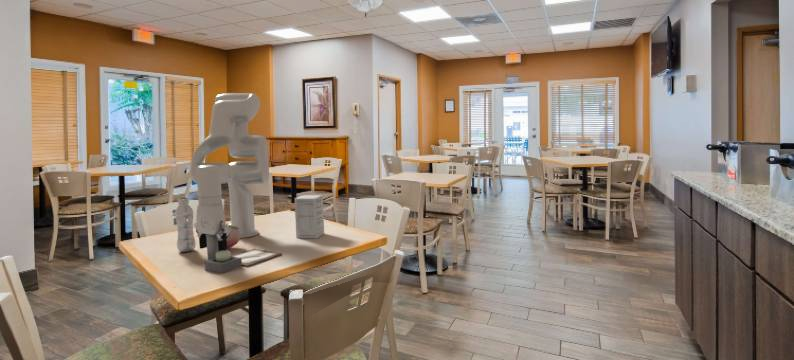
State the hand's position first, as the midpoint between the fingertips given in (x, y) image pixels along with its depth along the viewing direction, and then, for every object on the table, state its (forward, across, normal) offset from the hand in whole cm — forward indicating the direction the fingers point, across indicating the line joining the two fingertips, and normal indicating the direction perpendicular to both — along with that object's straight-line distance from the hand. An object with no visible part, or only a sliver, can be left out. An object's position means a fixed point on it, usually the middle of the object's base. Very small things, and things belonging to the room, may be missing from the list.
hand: (213, 249), depth 159 cm
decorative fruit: (+4, -8, +13) cm, 16 cm away
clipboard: (+4, +10, +8) cm, 13 cm away
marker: (+4, 0, 0) cm, 4 cm away
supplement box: (+4, +7, +43) cm, 44 cm away
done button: (+1, +11, -5) cm, 12 cm away
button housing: (+4, +11, -5) cm, 13 cm away
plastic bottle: (+4, -19, +3) cm, 20 cm away
